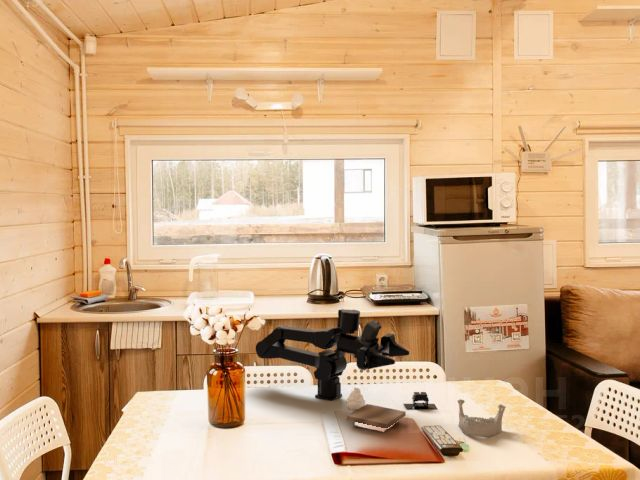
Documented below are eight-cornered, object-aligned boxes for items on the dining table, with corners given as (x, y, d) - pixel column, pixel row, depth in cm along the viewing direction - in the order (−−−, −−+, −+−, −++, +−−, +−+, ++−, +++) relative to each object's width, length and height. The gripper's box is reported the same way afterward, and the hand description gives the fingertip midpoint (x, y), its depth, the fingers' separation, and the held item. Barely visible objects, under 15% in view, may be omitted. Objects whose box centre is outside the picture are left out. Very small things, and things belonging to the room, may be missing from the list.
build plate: (438, 404, 188) (438, 389, 188) (443, 412, 181) (443, 397, 180) (397, 404, 188) (398, 389, 187) (401, 412, 180) (401, 397, 180)
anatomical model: (450, 433, 160) (453, 393, 163) (455, 436, 169) (458, 399, 173) (502, 439, 155) (503, 399, 159) (504, 442, 165) (505, 404, 168)
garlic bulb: (368, 387, 183) (356, 391, 179) (368, 407, 183) (356, 411, 180) (355, 383, 187) (343, 387, 183) (355, 403, 187) (342, 406, 184)
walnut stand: (346, 426, 167) (346, 415, 167) (367, 414, 177) (367, 403, 177) (386, 435, 160) (386, 424, 160) (405, 422, 170) (405, 411, 170)
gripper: (340, 327, 178) (388, 339, 169) (372, 313, 193) (417, 323, 185) (339, 364, 180) (386, 377, 171) (370, 347, 195) (415, 358, 187)
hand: (402, 357), depth 179 cm, fingers open, 9 cm apart
